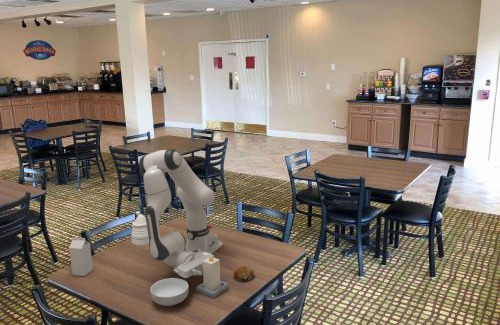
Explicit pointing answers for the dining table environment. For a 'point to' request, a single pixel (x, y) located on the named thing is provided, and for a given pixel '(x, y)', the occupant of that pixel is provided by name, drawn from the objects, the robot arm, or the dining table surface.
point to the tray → (209, 293)
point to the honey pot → (140, 230)
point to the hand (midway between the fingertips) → (208, 269)
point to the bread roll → (243, 273)
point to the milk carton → (80, 257)
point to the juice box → (211, 274)
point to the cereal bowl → (169, 291)
